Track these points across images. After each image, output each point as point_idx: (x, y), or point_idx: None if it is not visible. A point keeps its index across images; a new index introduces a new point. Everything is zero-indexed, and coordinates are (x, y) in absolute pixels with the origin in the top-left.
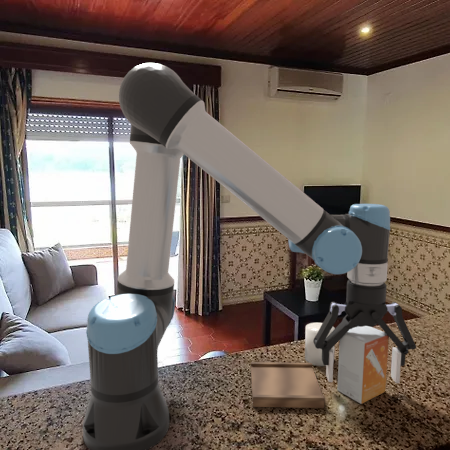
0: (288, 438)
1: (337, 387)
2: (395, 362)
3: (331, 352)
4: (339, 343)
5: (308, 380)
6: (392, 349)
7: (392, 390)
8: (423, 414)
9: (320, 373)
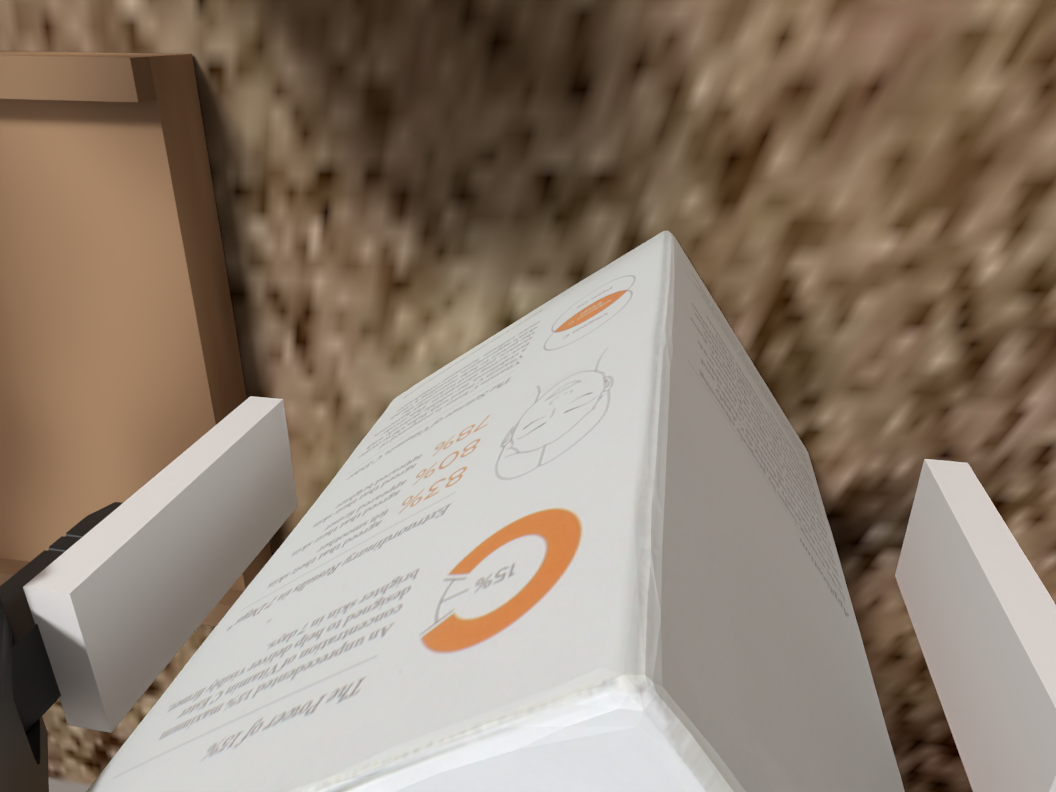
0: (97, 753)
1: (386, 409)
2: (965, 706)
3: (87, 726)
4: (127, 743)
5: (132, 361)
6: (1052, 711)
7: (894, 428)
8: (944, 713)
9: (280, 98)
